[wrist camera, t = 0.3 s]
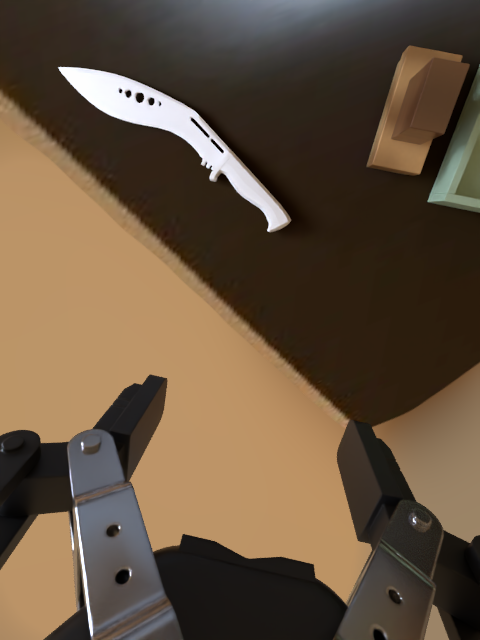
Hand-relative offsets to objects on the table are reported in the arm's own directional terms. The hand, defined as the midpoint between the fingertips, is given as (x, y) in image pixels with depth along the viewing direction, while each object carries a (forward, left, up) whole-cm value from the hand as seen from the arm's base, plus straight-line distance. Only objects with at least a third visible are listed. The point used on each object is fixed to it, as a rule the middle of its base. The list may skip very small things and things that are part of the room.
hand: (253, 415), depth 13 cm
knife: (-13, -13, -28) cm, 34 cm away
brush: (-20, +11, -28) cm, 36 cm away
